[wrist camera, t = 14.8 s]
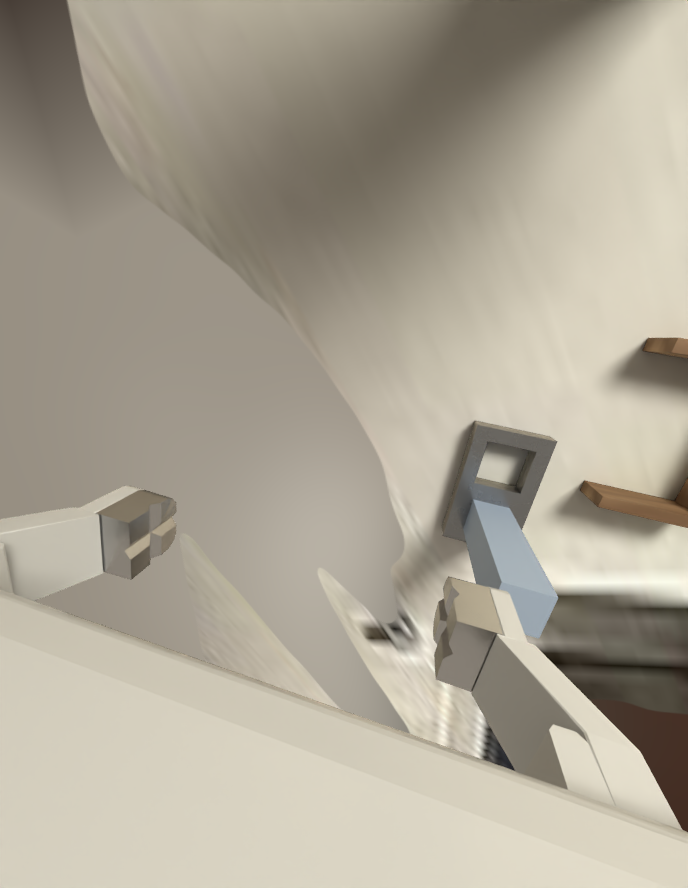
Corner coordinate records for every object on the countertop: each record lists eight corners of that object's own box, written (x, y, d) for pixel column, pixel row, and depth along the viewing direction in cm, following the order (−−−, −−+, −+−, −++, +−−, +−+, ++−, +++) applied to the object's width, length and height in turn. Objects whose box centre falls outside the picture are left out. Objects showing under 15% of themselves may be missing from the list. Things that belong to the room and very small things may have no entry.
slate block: (473, 499, 38) (501, 582, 25) (509, 508, 38) (558, 597, 25) (463, 529, 40) (485, 622, 26) (498, 538, 39) (538, 638, 26)
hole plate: (474, 420, 38) (477, 424, 36) (549, 436, 36) (557, 441, 35) (441, 527, 42) (442, 535, 40) (507, 544, 41) (512, 554, 39)
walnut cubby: (648, 338, 32) (678, 337, 28) (770, 358, 31) (819, 360, 27) (580, 490, 37) (598, 506, 34) (681, 513, 36) (712, 533, 32)
